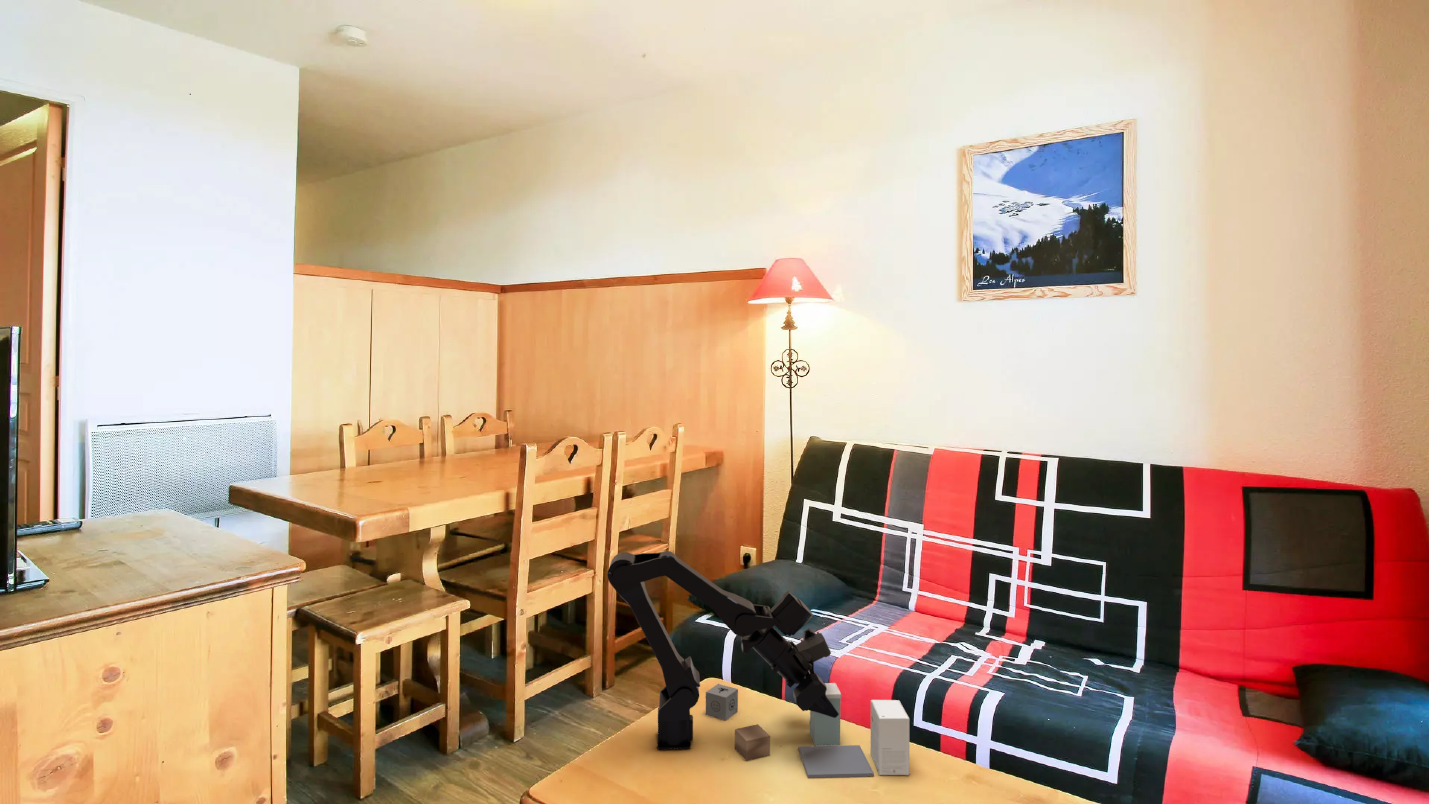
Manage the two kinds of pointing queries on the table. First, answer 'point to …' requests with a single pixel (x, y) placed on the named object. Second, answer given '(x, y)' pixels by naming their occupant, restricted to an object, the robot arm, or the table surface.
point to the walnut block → (752, 742)
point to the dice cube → (721, 702)
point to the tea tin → (827, 720)
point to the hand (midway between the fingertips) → (831, 705)
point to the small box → (890, 737)
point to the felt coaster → (835, 761)
